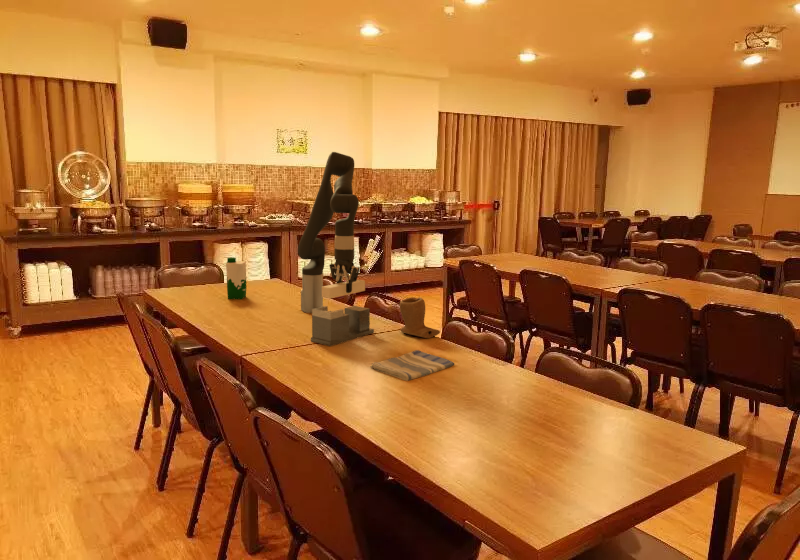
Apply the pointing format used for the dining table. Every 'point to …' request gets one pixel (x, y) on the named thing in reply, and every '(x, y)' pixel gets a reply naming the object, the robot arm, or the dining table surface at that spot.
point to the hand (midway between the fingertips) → (344, 291)
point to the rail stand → (339, 324)
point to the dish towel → (412, 365)
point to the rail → (342, 289)
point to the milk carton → (236, 278)
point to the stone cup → (415, 318)
